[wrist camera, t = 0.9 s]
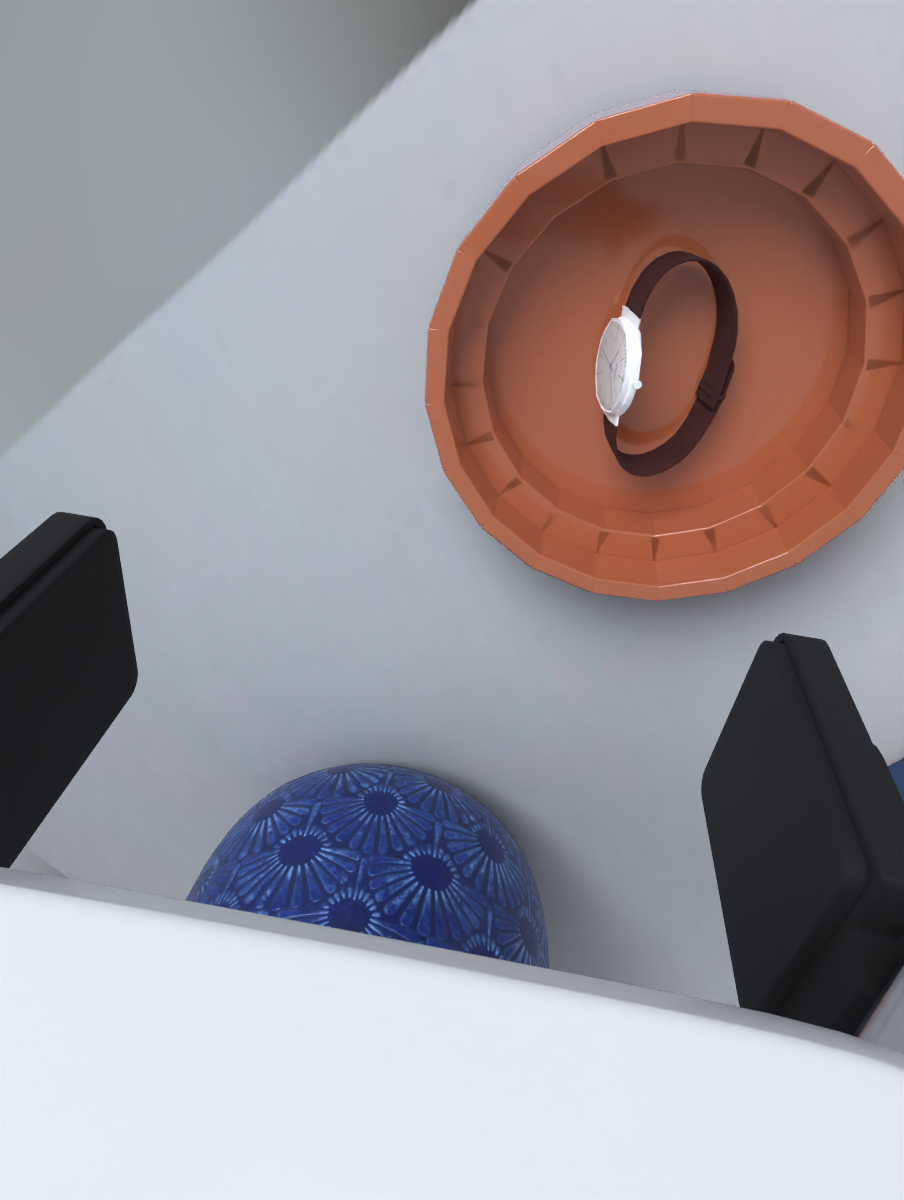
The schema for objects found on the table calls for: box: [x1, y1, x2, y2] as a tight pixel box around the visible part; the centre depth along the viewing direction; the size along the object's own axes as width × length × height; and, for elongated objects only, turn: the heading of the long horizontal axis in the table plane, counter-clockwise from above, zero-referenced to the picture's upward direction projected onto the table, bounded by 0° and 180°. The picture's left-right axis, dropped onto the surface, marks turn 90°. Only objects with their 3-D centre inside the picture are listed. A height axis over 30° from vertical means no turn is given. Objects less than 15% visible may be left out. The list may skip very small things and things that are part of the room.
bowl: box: [425, 90, 904, 601], centre depth 27 cm, size 16×16×4 cm
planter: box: [186, 764, 549, 969], centre depth 39 cm, size 21×21×19 cm
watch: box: [596, 251, 738, 477], centre depth 27 cm, size 8×5×4 cm, turn 175°
